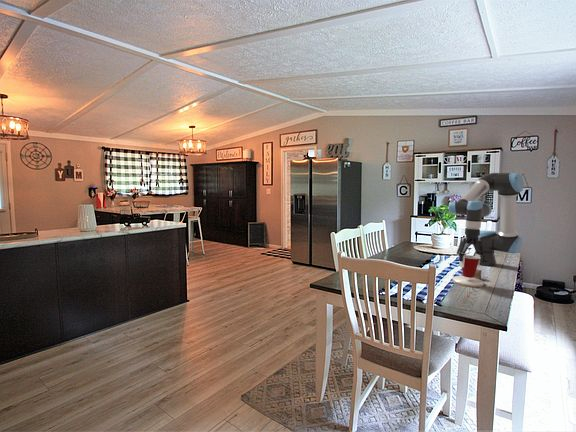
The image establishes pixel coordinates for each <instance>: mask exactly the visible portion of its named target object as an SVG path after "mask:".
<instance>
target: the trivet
mask: <svg viewBox="0 0 576 432" xmlns="http://www.w3.org/2000/svg"><path fill="white" fill-rule="evenodd" d="M452 282H453V283H454V284H456V285H459V286H462V287H469V288H482V287H484V286H485V285H484V284H485V283H484V280H481V278H480V279H477V278H468V277H464V276H463V275H455V276H453V277H452Z"/></svg>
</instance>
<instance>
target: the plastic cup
mask: <svg viewBox="0 0 576 432" xmlns="http://www.w3.org/2000/svg"><path fill="white" fill-rule="evenodd" d="M464 256H465V262H464V267H461V274H462V276H464V277H468V278H473V277H474V275H475V272H476V269H478V267H479V266H478V263H479V260H480V259H481V257H477V256H473V255H472V254H471V255H470V254H464Z"/></svg>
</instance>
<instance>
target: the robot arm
mask: <svg viewBox="0 0 576 432" xmlns="http://www.w3.org/2000/svg"><path fill="white" fill-rule="evenodd" d="M523 190H524V179H523V176H522V175H521V174H520V173H515V172H491V173H487V174H484V175H482V176H481V177H479V178H478V179H477V180H475V182H474V183H473V186H472V187H470V188H469V190H467V192H465V193H464V195H462V196H461V197H460V198H459V200H458V201H450V202H449V204H448V212H449V213H450V214H453V215H454V214H455V215H462V216H466V217H465V229H464V235H465V237H460V242H459V245H458V248H457V250H456V255H458V256H459V257H458V261H459V263H458V266H459V267H461V268H462V267H464V262H465V256H464V255H466V252H467V251H468V249H469V247H471V245H473V248H474V250H475V251H474V253H473V255H472V256H477V257H481V259H480V260H479V263H478V266H477V267H480V266H485V267H487V266H488V267H493V266H496V265H497V260H496V256H495V251H496V252H501V253H508V254H516V253H518V252H519V250H520V248H521V246H522V242H523V238H522V236H519V232H518V231H516V227H517V225H516V224H517V196H519V195H520V193H521V192H522V191H523ZM490 191H496V192H497V194H498V196H499V197H500V215H499V216H500V225H499V226H500V230H499V231H498V232H497V231H496V230H481V226H482V218H484V217H488V216H489V215H491V213H492V211H493V209H492V207H491V205H490V204H488V203H483V201H479V198H480V197H482V195H483V194H484V193H487V192H490Z"/></svg>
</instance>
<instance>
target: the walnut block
mask: <svg viewBox="0 0 576 432" xmlns="http://www.w3.org/2000/svg"><path fill="white" fill-rule="evenodd" d="M473 278H477V279H480V280H481V279H482V269H478V268H477V269H476V272H475V275H474V277H473Z"/></svg>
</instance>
